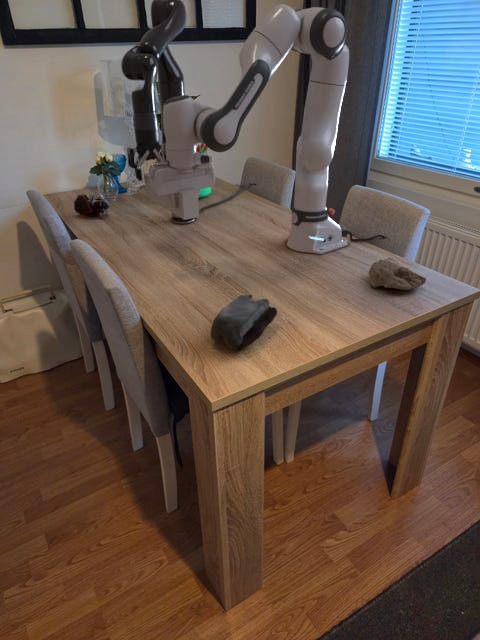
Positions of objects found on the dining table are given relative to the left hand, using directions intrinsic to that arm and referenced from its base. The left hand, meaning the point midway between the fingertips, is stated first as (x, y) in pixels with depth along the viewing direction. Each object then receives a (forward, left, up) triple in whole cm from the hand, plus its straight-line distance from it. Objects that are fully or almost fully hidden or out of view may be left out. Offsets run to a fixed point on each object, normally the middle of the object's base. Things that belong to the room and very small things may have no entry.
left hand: (151, 178), depth 150 cm
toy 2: (-52, -37, -24) cm, 68 cm away
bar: (+3, +13, -6) cm, 15 cm away
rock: (+25, +62, -24) cm, 71 cm away
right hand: (+6, +22, -4) cm, 23 cm away
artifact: (-27, +77, -24) cm, 85 cm away
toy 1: (-2, -46, -24) cm, 52 cm away
